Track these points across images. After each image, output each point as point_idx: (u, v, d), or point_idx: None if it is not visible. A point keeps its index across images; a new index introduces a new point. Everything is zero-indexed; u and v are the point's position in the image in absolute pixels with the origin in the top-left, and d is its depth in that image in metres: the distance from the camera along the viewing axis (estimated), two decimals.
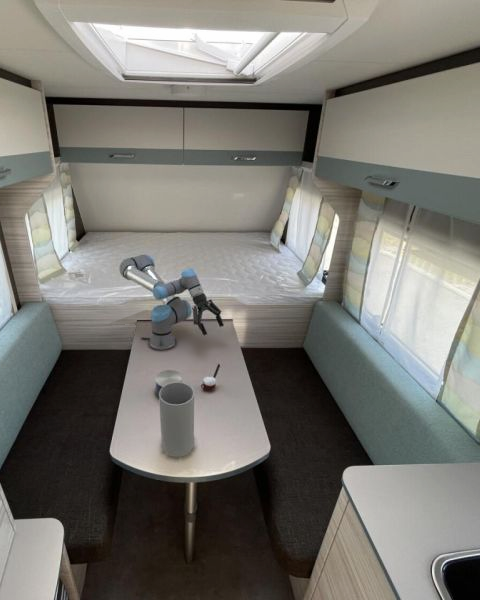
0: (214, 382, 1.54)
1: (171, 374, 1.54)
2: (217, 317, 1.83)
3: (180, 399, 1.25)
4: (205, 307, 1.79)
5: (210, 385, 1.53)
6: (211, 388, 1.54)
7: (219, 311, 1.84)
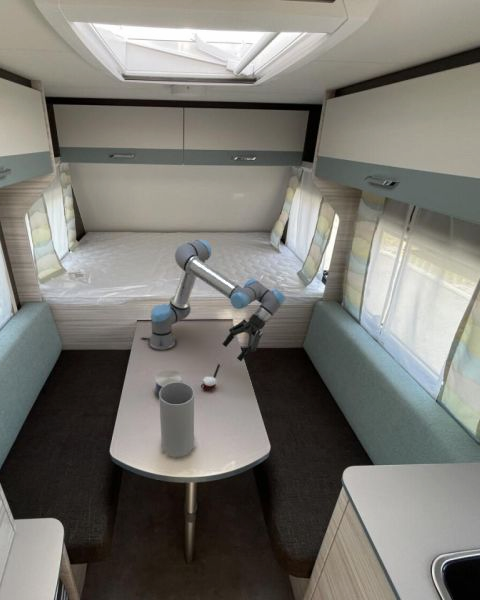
0: (214, 382, 1.54)
1: (171, 374, 1.54)
2: (231, 337, 1.60)
3: (180, 399, 1.25)
4: None
5: (210, 385, 1.53)
6: (211, 388, 1.54)
7: None
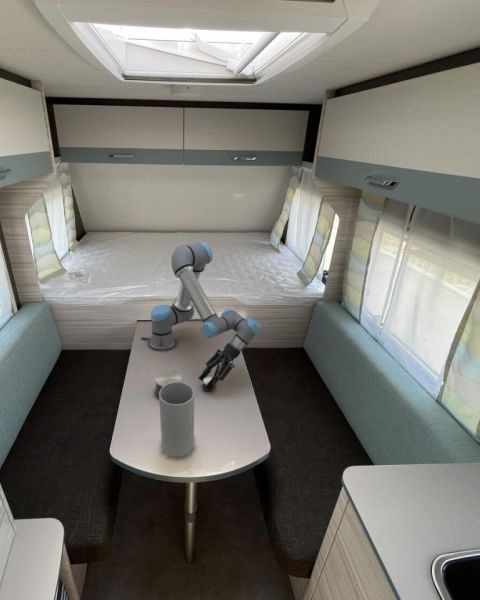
0: None
1: (171, 374, 1.54)
2: (208, 371, 1.57)
3: (180, 399, 1.25)
4: None
5: None
6: (211, 388, 1.54)
7: None
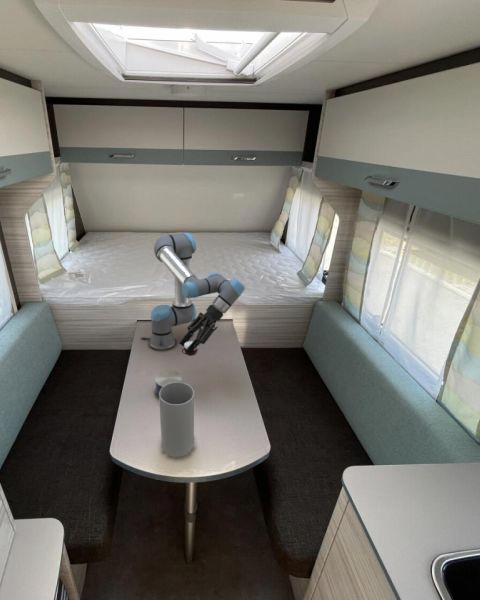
0: None
1: (171, 374, 1.54)
2: (189, 335, 1.48)
3: (180, 399, 1.25)
4: None
5: None
6: (193, 353, 1.45)
7: None
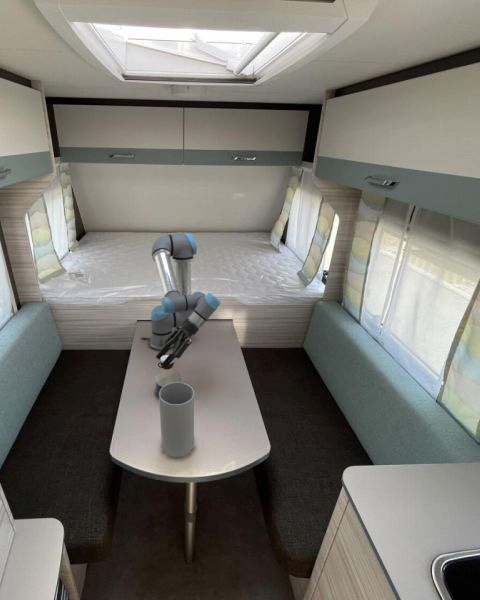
0: None
1: (171, 374, 1.54)
2: (166, 349, 1.49)
3: (180, 399, 1.25)
4: None
5: None
6: (168, 367, 1.46)
7: None
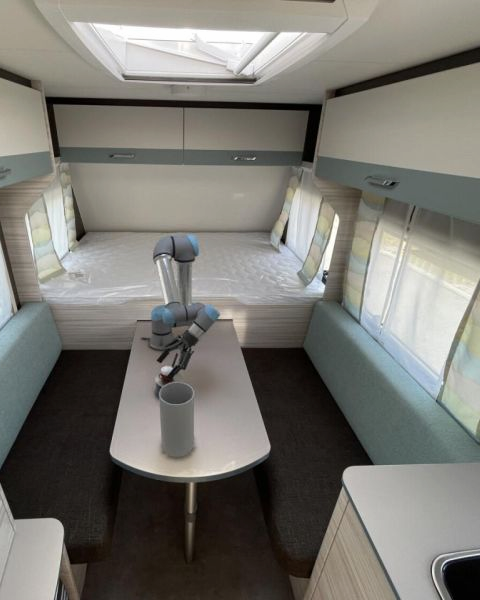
0: None
1: None
2: (166, 353, 1.54)
3: (180, 399, 1.25)
4: None
5: None
6: None
7: None
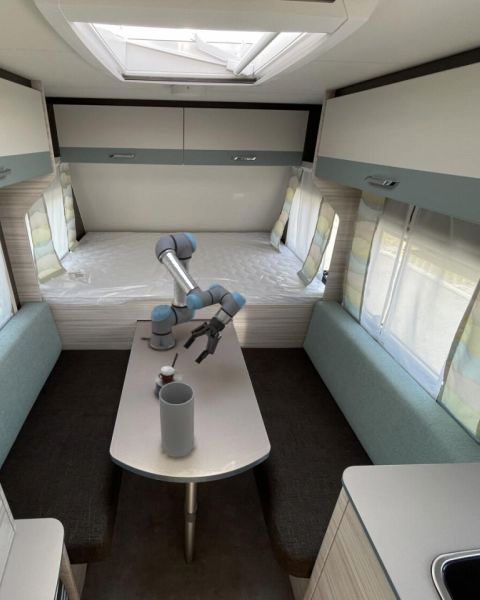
0: (172, 372, 1.48)
1: None
2: (192, 339, 1.59)
3: (180, 399, 1.25)
4: None
5: (167, 375, 1.47)
6: (169, 378, 1.48)
7: None
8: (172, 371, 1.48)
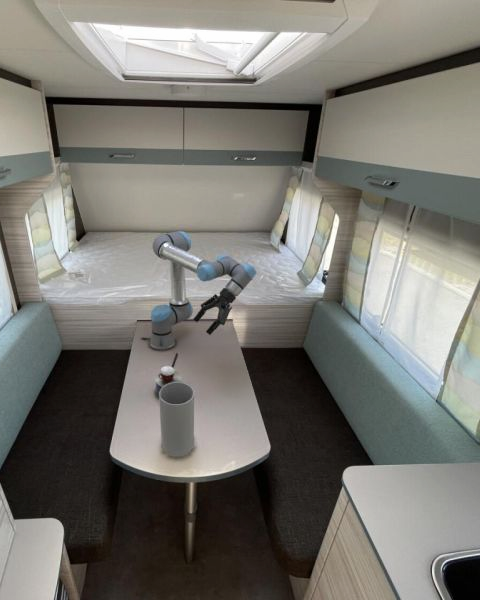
0: (172, 372, 1.48)
1: None
2: (202, 312, 1.58)
3: (180, 399, 1.25)
4: None
5: (167, 375, 1.47)
6: (169, 378, 1.48)
7: None
8: (172, 371, 1.48)
